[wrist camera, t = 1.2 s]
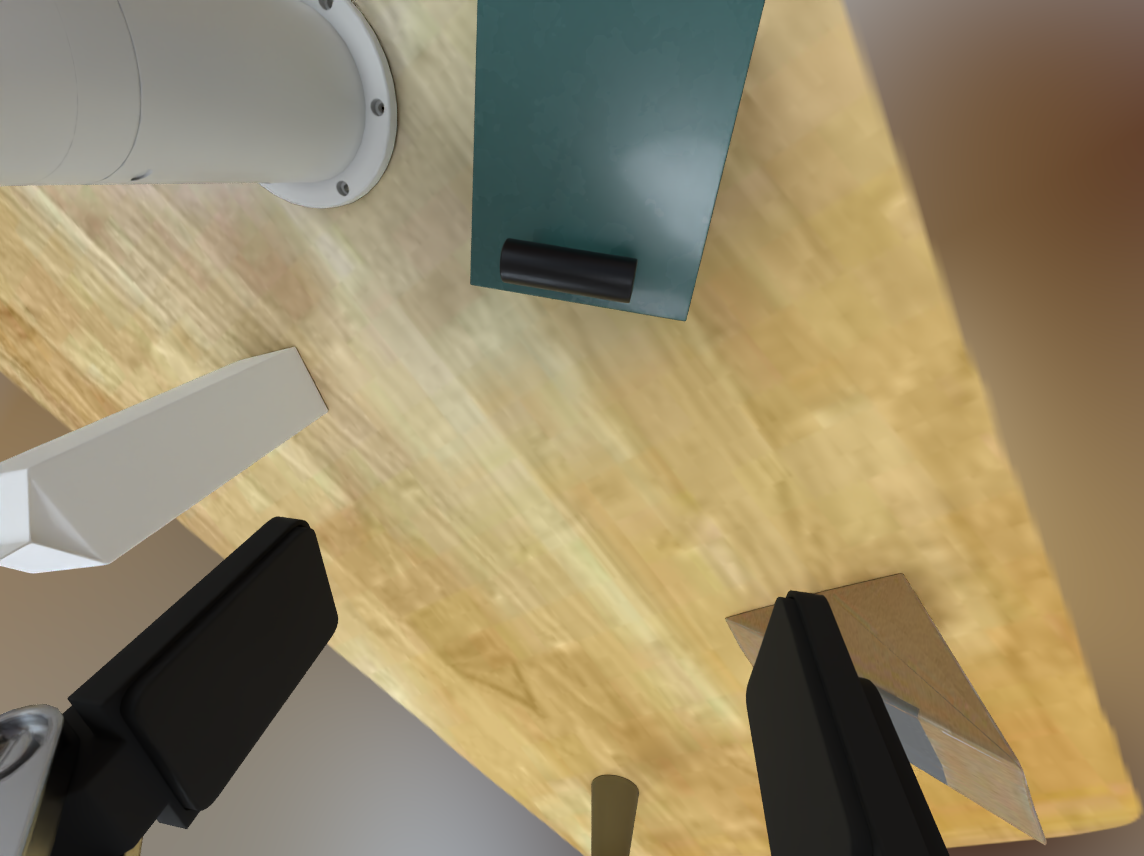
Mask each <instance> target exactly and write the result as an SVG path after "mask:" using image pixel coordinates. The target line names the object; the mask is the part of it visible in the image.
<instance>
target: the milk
mask: <svg viewBox="0 0 1144 856" xmlns="http://www.w3.org/2000/svg"><path fill="white" fill-rule="evenodd" d="M327 412H328V409H327V407H326V405H325V403H324V401H323V399H322V398H321V396H320V394H319V392H318V390H317V388H316V386H315V384H314V382H313V380H312V378H311V376H310V374H309V372H308V370H307V368H306V367H305V365H304V363H303V361H302V359H301V357H300V355H299V353H298V351H297V349H296V347H291V348H287V349H283V350H279V351H275V352H271V353H267V354H263V355H259V356H255V357H251V358H247V359H242V360H239V361H236V362H234V363H231V364H229V365H227V366H224V367H222V368H220V369H217V370H215V371H213V372H210V373H208V374H206V375H203V376H201V377H199V378H196V379H194V380H192V381H189V382H187V383H185V384H182V385H180V386H178V387H175V388H173V389H171V390H168V391H166V392H164V393H161V394H159V395H157V396H154V397H152V398H150V399H147V400H145V401H143V402H140V403H138V404H136V405H133V406H131V407H129V408H126V409H124V410H122V411H119V412H117V413H115V414H112V415H110V416H108V417H105V418H103V419H101V420H98V421H96V422H94V423H91V424H89V425H87V426H84V427H82V428H80V429H77V430H75V431H73V432H70V433H68V434H66V435H63V436H61V437H58V438H56V439H54V440H52V441H49V442H47V443H45V444H42V445H40V446H37V447H35V448H33V449H30V450H28V451H26V452H23V453H21V454H19V455H16V456H14V457H12V458H10V459H7V460H5V461H2V462H0V566H3V567H7V568H11V569H16V570H20V571H24V572H28V573H40V572H49V571H58V570H66V569H75V568H83V567H93V566H101V565H108V564H110V563H111V562H113V561H114V560H116V559H117V558H119V557H120V556H122V555H123V554H124V553H126V552H127V551H129V550H130V549H131V548H133V547H134V546H136V545H137V544H139V543H140V542H142V541H143V540H145V539H146V538H147V537H149V536H150V535H152V534H153V533H155V532H156V531H157V530H159V529H160V528H162V527H163V526H165V525H166V524H167V523H169V522H170V521H172V520H173V519H175V518H176V517H178V516H179V515H181V514H182V513H183V512H185V511H186V510H188V509H189V508H191V507H192V506H193V505H195V504H196V503H198V502H199V501H201V500H202V499H203V498H205V497H206V496H208V495H209V494H211V493H212V492H214V491H215V490H216V489H218V488H219V487H221V486H222V485H224V484H225V483H226V482H228V481H229V480H231V479H232V478H234V477H235V476H237V475H238V474H239V473H241V472H242V471H244V470H245V469H247V468H248V467H249V466H251V465H252V464H254V463H255V462H257V461H258V460H259V459H261V458H262V457H264V456H265V455H267V454H268V453H270V452H271V451H272V450H274V449H275V448H277V447H278V446H280V445H281V444H282V443H284V442H285V441H287V440H288V439H290V438H291V437H293V436H294V435H295V434H297V433H298V432H300V431H301V430H303V429H304V428H305V427H307V426H308V425H310V424H311V423H313V422H314V421H315V420H317V419H318V418H320V417H321V416H323V415H324V414H326V413H327Z"/></svg>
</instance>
